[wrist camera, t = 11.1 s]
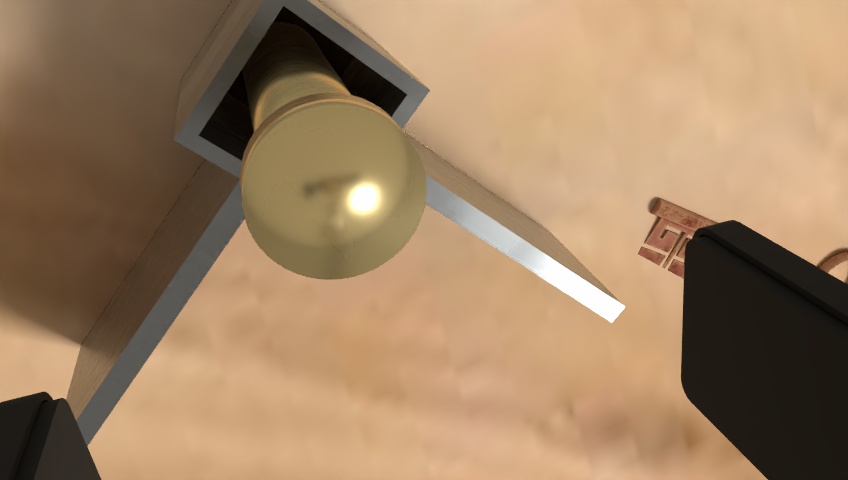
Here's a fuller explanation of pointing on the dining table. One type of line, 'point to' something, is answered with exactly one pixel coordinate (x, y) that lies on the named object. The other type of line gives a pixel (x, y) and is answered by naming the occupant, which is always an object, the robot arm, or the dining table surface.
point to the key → (688, 225)
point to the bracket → (223, 211)
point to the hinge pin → (323, 165)
